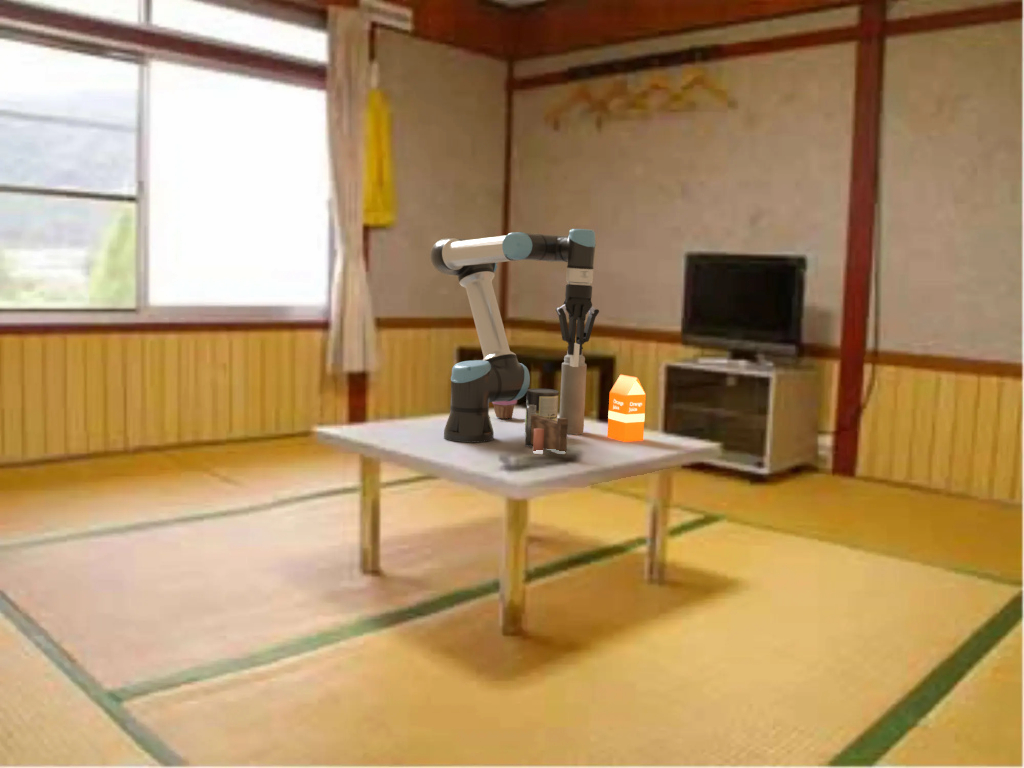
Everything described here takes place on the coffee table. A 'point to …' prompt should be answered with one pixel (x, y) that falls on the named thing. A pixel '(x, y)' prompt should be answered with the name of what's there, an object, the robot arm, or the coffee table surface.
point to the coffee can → (543, 402)
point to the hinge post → (529, 423)
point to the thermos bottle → (573, 394)
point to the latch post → (538, 439)
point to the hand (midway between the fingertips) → (573, 366)
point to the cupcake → (504, 409)
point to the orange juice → (626, 410)
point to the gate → (551, 432)
